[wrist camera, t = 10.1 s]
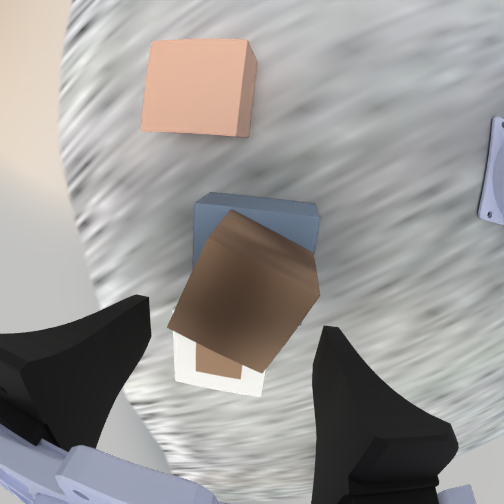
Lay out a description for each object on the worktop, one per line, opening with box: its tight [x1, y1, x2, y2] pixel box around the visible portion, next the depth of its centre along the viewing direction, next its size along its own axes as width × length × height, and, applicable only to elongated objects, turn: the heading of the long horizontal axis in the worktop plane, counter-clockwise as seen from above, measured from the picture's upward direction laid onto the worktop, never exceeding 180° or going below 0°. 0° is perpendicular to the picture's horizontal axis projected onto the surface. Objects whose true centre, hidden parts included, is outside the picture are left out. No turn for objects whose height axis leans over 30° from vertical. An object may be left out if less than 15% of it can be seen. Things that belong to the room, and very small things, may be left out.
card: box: [173, 308, 266, 397], centre depth 25 cm, size 8×8×1 cm
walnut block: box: [167, 209, 320, 373], centre depth 16 cm, size 5×5×5 cm
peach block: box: [141, 39, 257, 137], centre depth 16 cm, size 5×5×5 cm
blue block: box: [193, 192, 320, 326], centre depth 20 cm, size 7×7×4 cm
